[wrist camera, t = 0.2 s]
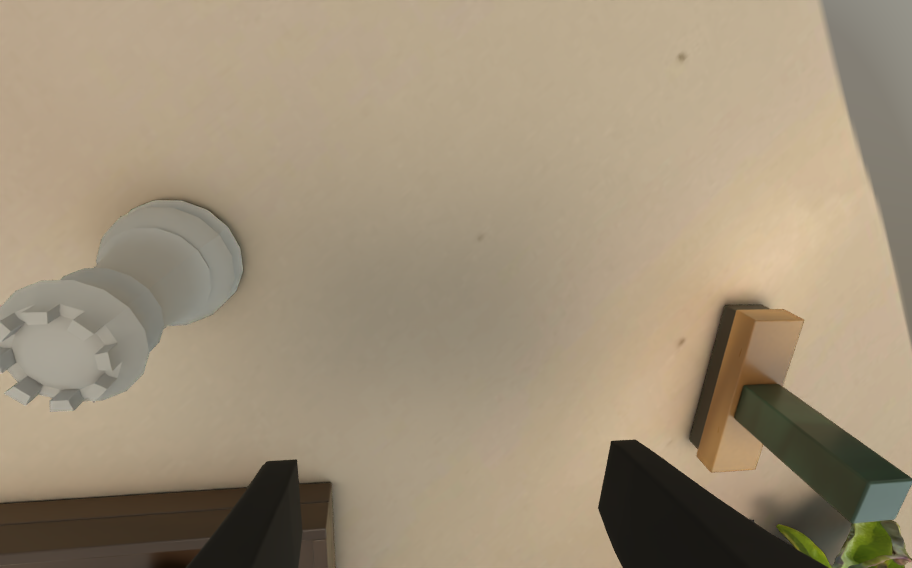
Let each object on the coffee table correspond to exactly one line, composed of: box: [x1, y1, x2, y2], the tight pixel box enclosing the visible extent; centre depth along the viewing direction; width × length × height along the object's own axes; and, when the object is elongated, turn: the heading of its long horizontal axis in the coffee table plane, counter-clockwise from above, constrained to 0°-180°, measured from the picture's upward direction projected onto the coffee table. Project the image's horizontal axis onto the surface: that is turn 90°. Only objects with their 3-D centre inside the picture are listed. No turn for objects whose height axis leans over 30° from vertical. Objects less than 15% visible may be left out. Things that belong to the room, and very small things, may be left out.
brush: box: [690, 305, 912, 524], centre depth 20 cm, size 8×2×8 cm, turn 177°
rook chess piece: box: [0, 200, 243, 412], centre depth 14 cm, size 4×4×8 cm
